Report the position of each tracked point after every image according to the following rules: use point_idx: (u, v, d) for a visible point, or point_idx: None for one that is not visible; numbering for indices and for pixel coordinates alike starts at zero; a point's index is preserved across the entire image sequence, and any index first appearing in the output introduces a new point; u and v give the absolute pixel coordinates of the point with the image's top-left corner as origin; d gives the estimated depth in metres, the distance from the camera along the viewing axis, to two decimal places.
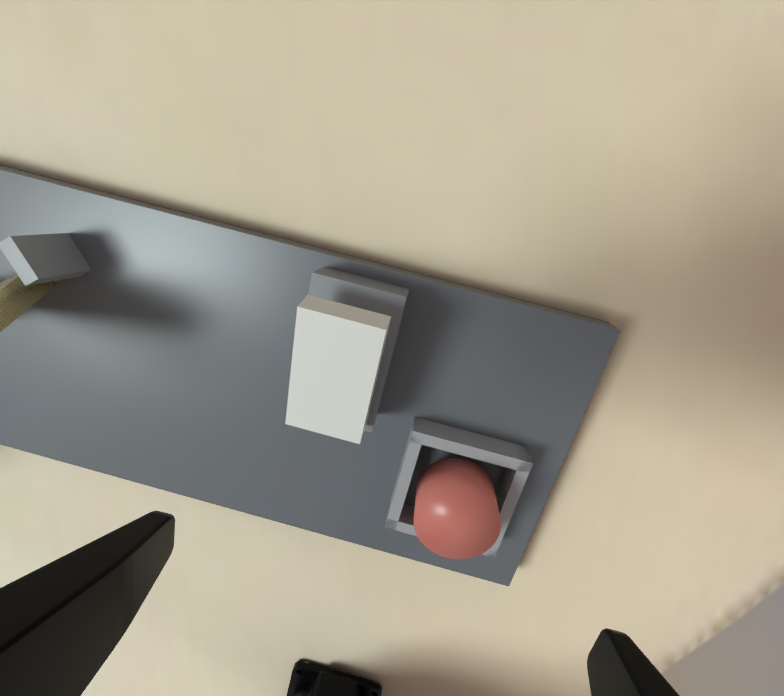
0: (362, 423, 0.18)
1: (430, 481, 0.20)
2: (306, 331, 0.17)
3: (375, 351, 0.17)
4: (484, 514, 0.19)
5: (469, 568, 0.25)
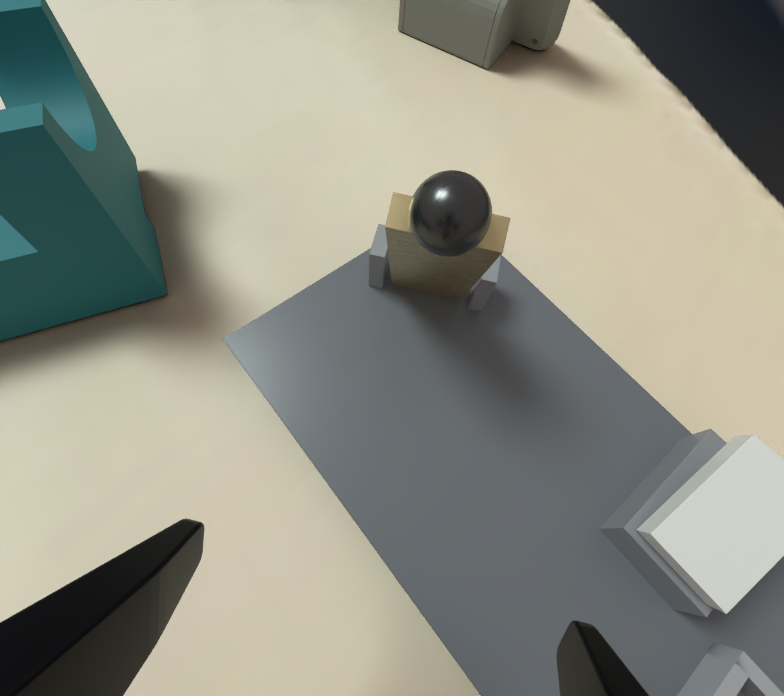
0: (746, 589, 0.16)
1: None
2: (747, 458, 0.17)
3: None
4: None
5: None
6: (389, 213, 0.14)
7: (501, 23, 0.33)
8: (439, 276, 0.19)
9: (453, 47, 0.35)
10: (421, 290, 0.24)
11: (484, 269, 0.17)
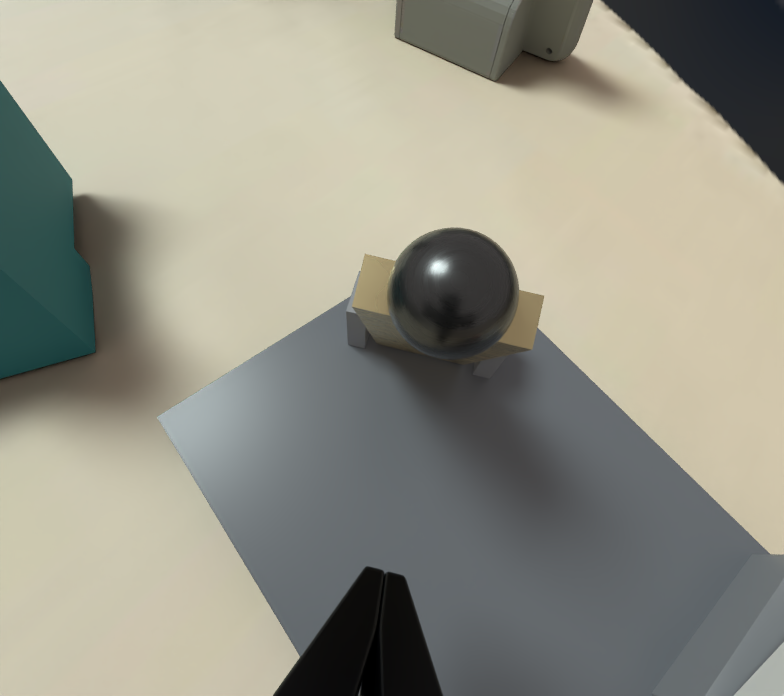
0: None
1: None
2: None
3: None
4: None
5: None
6: (359, 286, 0.09)
7: (512, 29, 0.28)
8: None
9: (456, 56, 0.31)
10: (413, 352, 0.19)
11: (500, 354, 0.12)
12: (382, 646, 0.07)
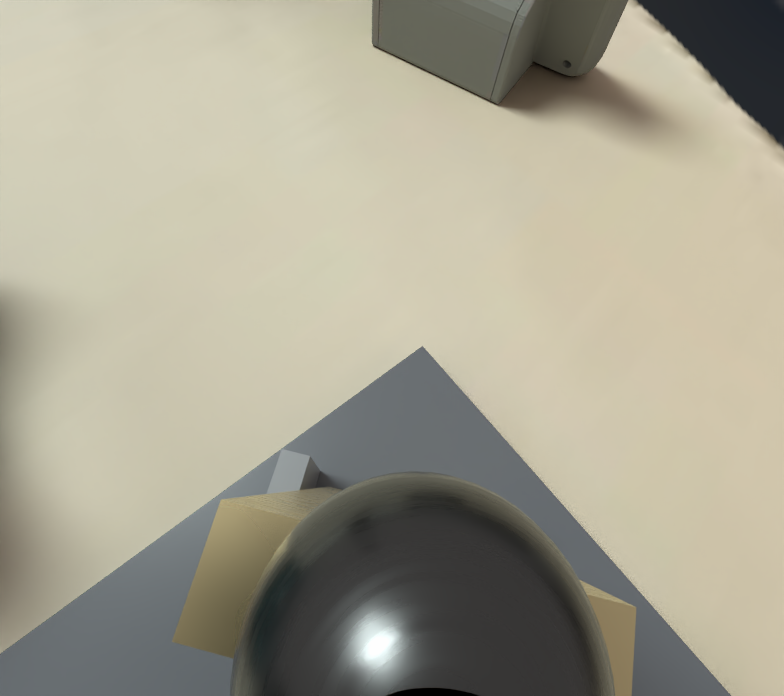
0: None
1: None
2: None
3: None
4: None
5: None
6: (198, 581, 0.04)
7: (520, 39, 0.22)
8: None
9: (449, 71, 0.24)
10: None
11: None
12: None
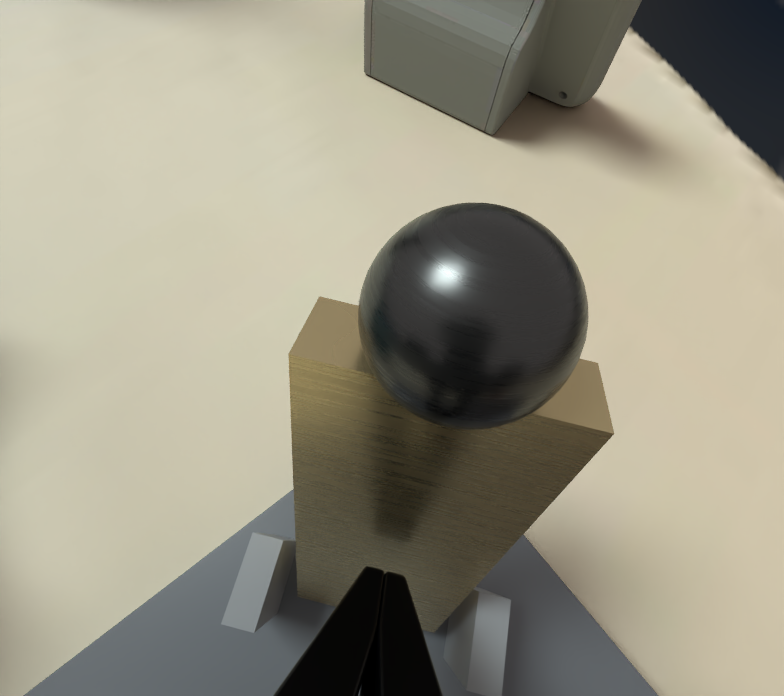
0: None
1: None
2: None
3: None
4: None
5: None
6: (305, 331, 0.06)
7: (514, 73, 0.21)
8: (404, 559, 0.09)
9: (442, 102, 0.24)
10: None
11: (527, 520, 0.07)
12: (382, 646, 0.07)
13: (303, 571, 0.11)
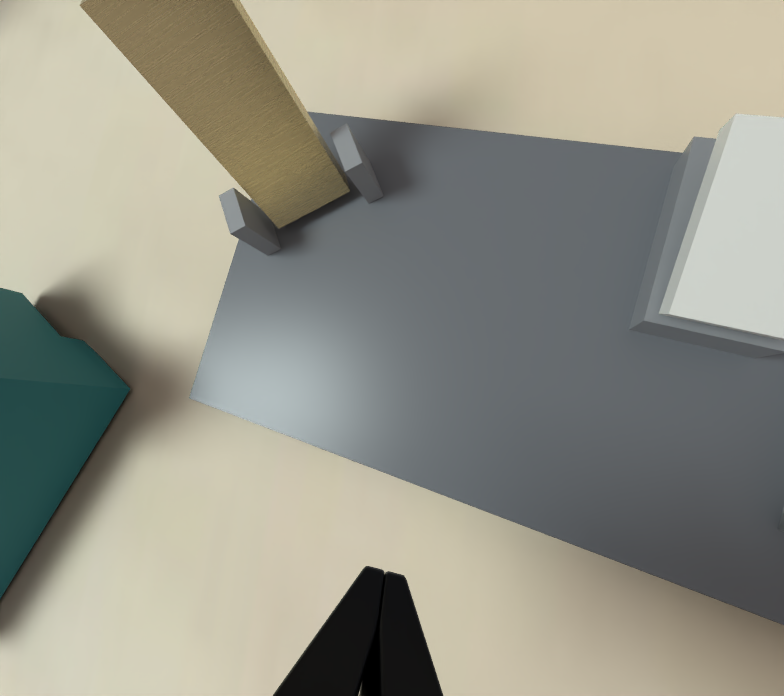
0: None
1: None
2: (742, 150, 0.12)
3: None
4: None
5: None
6: None
7: None
8: (258, 122, 0.17)
9: None
10: (304, 207, 0.20)
11: (242, 23, 0.14)
12: (382, 646, 0.07)
13: (252, 193, 0.19)
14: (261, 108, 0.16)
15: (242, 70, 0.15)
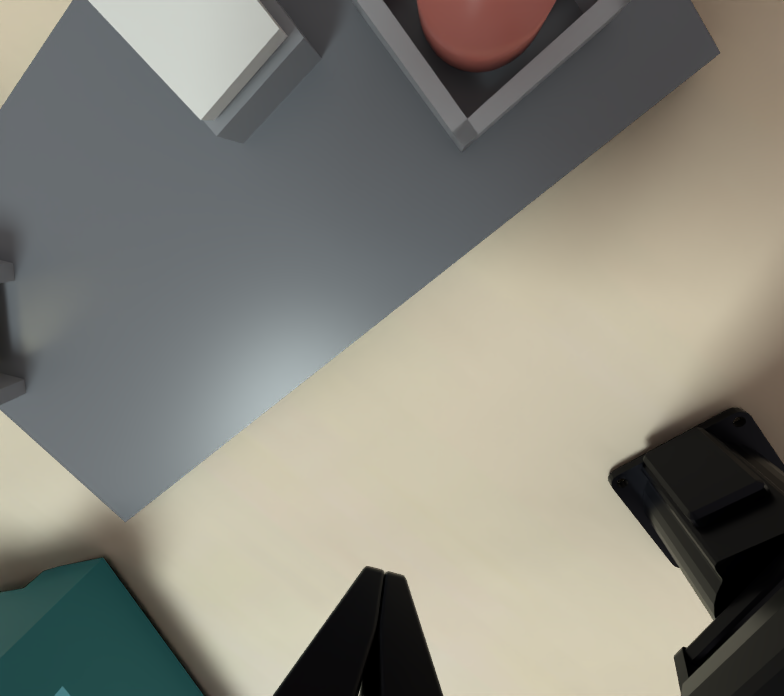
0: None
1: None
2: None
3: None
4: None
5: (639, 98, 0.14)
6: None
7: None
8: None
9: None
10: None
11: None
12: (382, 646, 0.07)
13: None
14: None
15: None
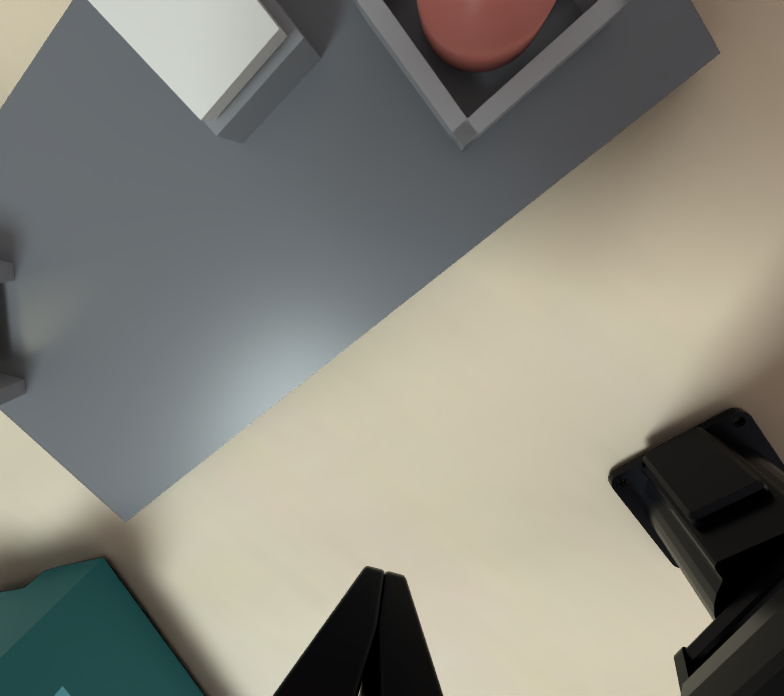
0: None
1: None
2: None
3: None
4: None
5: (639, 98, 0.14)
6: None
7: None
8: None
9: None
10: None
11: None
12: (382, 646, 0.07)
13: None
14: None
15: None
